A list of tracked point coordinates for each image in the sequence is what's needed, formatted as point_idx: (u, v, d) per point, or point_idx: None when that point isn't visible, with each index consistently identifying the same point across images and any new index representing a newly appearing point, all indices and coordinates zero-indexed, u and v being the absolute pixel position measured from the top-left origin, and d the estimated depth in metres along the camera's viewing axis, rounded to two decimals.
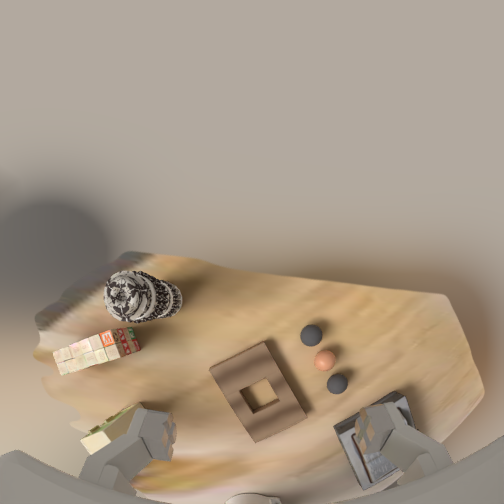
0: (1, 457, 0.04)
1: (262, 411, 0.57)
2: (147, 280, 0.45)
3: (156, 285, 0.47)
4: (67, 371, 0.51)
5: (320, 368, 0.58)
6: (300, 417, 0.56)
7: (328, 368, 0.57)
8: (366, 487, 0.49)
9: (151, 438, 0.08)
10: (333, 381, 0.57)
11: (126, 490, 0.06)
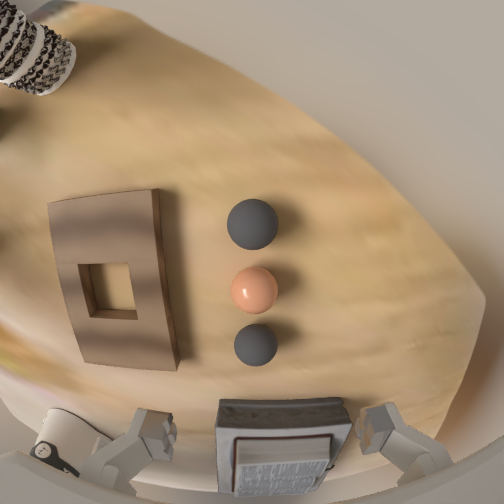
0: (1, 457, 0.04)
1: (105, 321, 0.30)
2: None
3: None
4: None
5: (236, 302, 0.28)
6: (164, 364, 0.32)
7: (251, 311, 0.28)
8: (224, 492, 0.37)
9: (151, 438, 0.08)
10: (248, 340, 0.29)
11: (126, 490, 0.06)
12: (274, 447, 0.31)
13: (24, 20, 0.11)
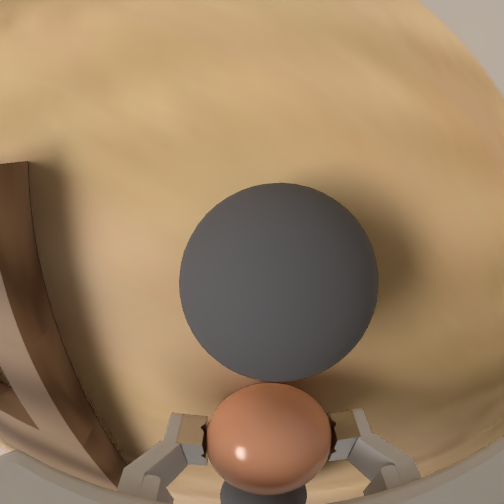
0: (1, 457, 0.04)
1: (1, 412, 0.10)
2: None
3: None
4: None
5: (219, 473, 0.08)
6: (103, 486, 0.12)
7: None
8: None
9: (190, 443, 0.08)
10: None
11: (166, 499, 0.06)
12: None
13: None
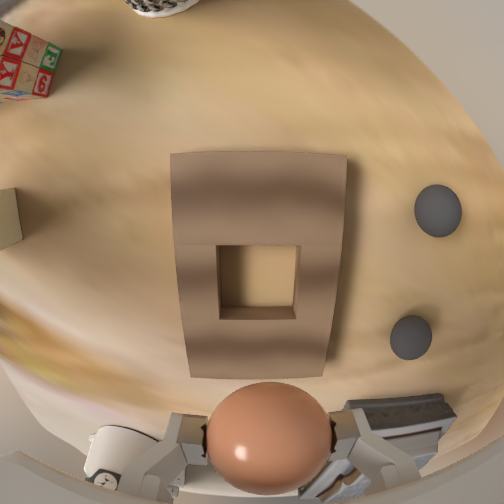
0: (1, 457, 0.04)
1: (245, 323, 0.25)
2: None
3: None
4: None
5: (219, 473, 0.08)
6: (311, 370, 0.27)
7: None
8: (305, 498, 0.33)
9: (190, 443, 0.08)
10: (416, 332, 0.24)
11: (166, 499, 0.06)
12: (400, 445, 0.26)
13: None
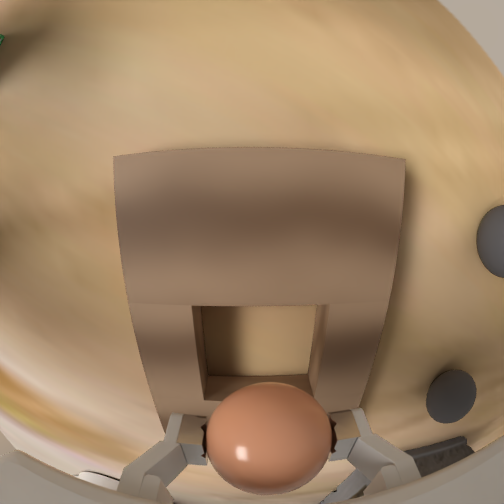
0: (1, 457, 0.04)
1: None
2: None
3: None
4: None
5: None
6: None
7: None
8: None
9: (190, 443, 0.08)
10: (461, 395, 0.15)
11: (166, 499, 0.06)
12: None
13: None
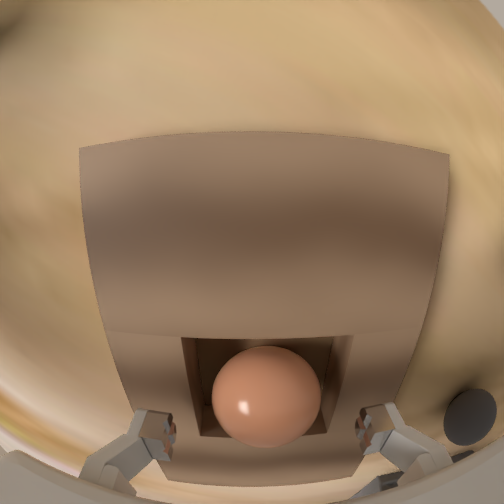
0: (1, 457, 0.04)
1: None
2: None
3: None
4: None
5: (223, 428, 0.10)
6: (338, 474, 0.15)
7: None
8: None
9: (151, 438, 0.08)
10: (482, 417, 0.12)
11: (126, 490, 0.06)
12: None
13: None
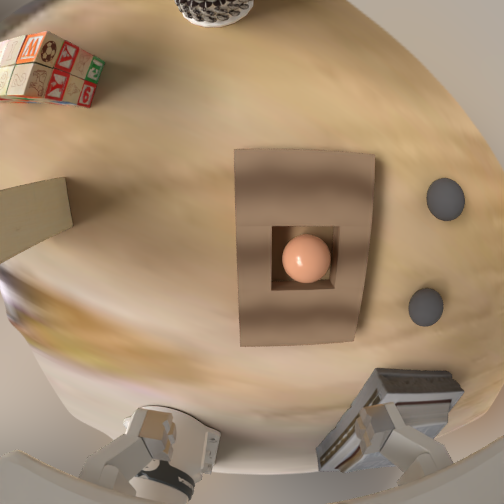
0: (1, 457, 0.04)
1: (292, 293, 0.30)
2: None
3: None
4: None
5: (290, 270, 0.27)
6: (344, 335, 0.32)
7: (305, 279, 0.27)
8: (325, 470, 0.39)
9: (151, 438, 0.08)
10: (430, 301, 0.29)
11: (126, 490, 0.06)
12: (418, 411, 0.31)
13: None
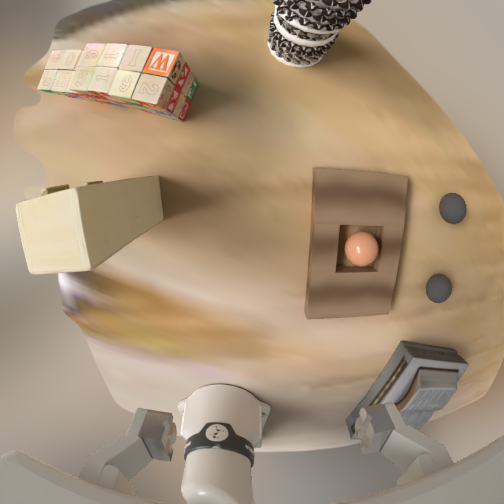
0: (1, 457, 0.04)
1: (349, 275, 0.39)
2: None
3: None
4: (50, 87, 0.24)
5: (353, 256, 0.36)
6: (382, 309, 0.41)
7: (363, 263, 0.36)
8: (356, 437, 0.47)
9: (151, 438, 0.08)
10: (442, 282, 0.38)
11: (126, 490, 0.06)
12: (435, 376, 0.41)
13: None
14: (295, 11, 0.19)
